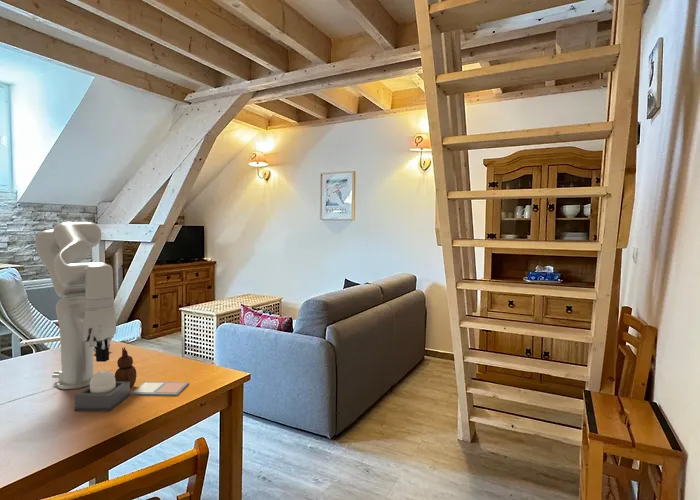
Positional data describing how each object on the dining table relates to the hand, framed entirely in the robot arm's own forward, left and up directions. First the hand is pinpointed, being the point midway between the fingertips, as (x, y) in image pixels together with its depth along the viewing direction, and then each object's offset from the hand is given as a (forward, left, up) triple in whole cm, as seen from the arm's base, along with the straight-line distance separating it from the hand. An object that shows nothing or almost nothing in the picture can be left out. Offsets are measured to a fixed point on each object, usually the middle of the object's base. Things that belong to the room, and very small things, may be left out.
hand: (102, 360), depth 129 cm
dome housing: (0, 0, -14) cm, 14 cm away
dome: (0, 0, -11) cm, 11 cm away
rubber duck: (-31, +49, -14) cm, 60 cm away
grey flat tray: (+13, +11, -14) cm, 22 cm away
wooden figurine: (0, +12, -14) cm, 19 cm away
